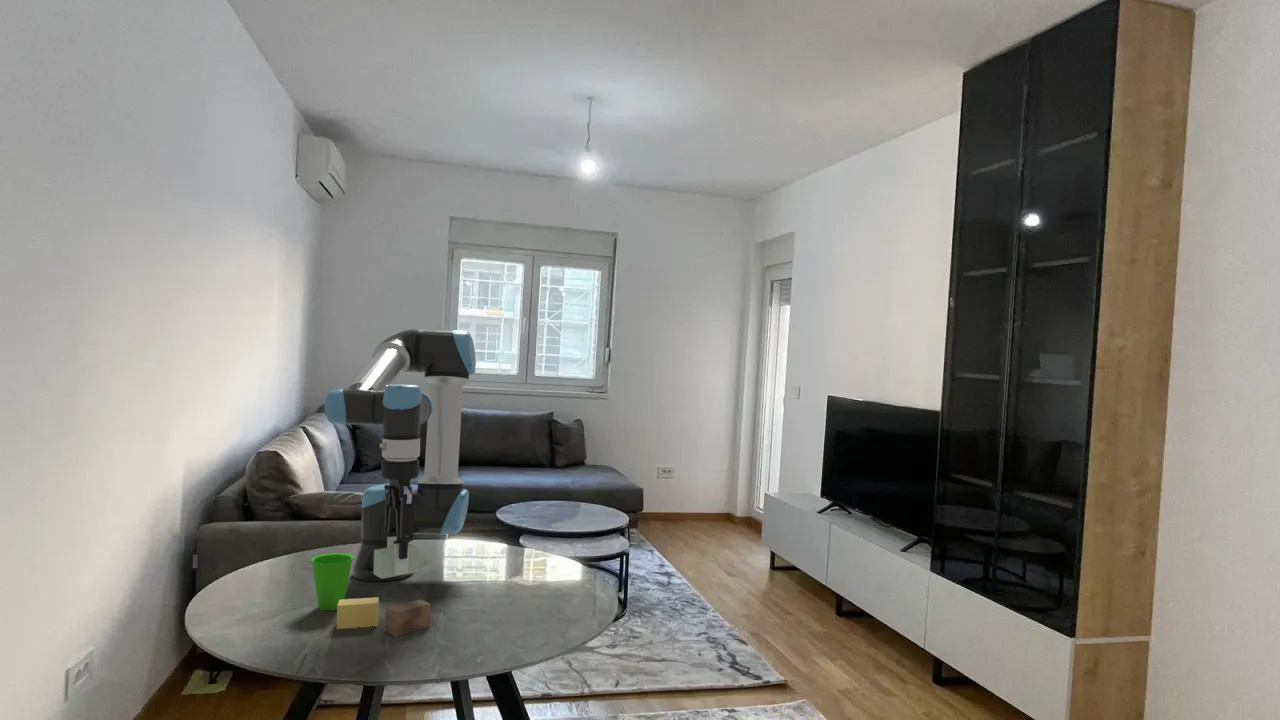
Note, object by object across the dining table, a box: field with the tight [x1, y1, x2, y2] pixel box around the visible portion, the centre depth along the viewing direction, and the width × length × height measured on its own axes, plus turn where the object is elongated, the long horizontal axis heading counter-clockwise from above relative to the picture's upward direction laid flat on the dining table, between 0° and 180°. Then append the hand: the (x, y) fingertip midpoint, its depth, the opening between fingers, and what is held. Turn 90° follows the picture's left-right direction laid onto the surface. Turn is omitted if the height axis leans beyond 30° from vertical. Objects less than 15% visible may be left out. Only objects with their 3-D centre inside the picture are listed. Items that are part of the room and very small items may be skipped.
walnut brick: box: [385, 598, 432, 637], centre depth 158 cm, size 8×4×5 cm, turn 138°
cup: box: [310, 552, 355, 612], centre depth 170 cm, size 9×9×11 cm
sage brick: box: [374, 543, 420, 579], centre depth 157 cm, size 8×4×5 cm, turn 132°
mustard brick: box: [336, 596, 380, 630], centre depth 160 cm, size 8×4×5 cm, turn 106°
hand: (397, 570), depth 157 cm, fingers closed on sage brick, 4 cm apart
